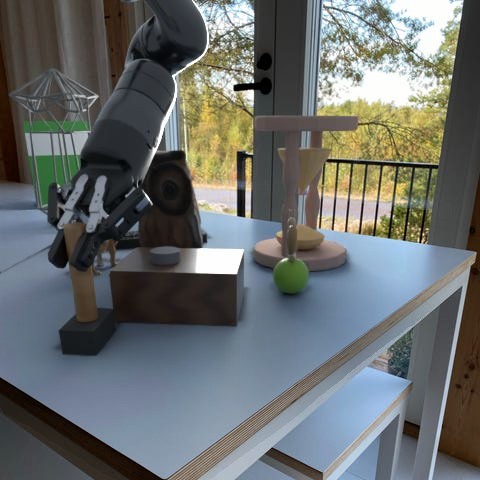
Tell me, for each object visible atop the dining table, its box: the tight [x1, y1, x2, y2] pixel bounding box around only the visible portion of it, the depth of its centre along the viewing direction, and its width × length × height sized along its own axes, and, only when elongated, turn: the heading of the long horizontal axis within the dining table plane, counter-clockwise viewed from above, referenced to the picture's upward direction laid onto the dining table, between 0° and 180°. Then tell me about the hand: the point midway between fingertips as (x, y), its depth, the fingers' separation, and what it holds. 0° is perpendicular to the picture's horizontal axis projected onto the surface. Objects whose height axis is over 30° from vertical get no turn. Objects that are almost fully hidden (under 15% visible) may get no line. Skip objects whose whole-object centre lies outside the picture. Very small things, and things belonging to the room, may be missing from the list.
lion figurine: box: [68, 224, 119, 279], centre depth 82 cm, size 15×5×9 cm, turn 171°
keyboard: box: [115, 229, 208, 250], centre depth 103 cm, size 30×11×2 cm, turn 107°
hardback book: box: [22, 120, 89, 208], centre depth 141 cm, size 18×7×24 cm, turn 110°
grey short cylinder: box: [150, 247, 181, 265], centre depth 63 cm, size 4×4×2 cm
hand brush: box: [58, 222, 117, 356], centre depth 54 cm, size 4×7×14 cm, turn 175°
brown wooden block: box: [108, 247, 245, 327], centre depth 66 cm, size 17×12×7 cm
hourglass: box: [252, 115, 359, 272], centre depth 86 cm, size 18×18×25 cm
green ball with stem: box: [272, 209, 310, 294], centre depth 71 cm, size 5×6×12 cm
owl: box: [137, 149, 204, 249], centre depth 83 cm, size 13×13×20 cm
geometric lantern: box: [8, 68, 100, 221], centre depth 113 cm, size 16×16×35 cm
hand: (66, 265), depth 51 cm, fingers closed on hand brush, 2 cm apart
